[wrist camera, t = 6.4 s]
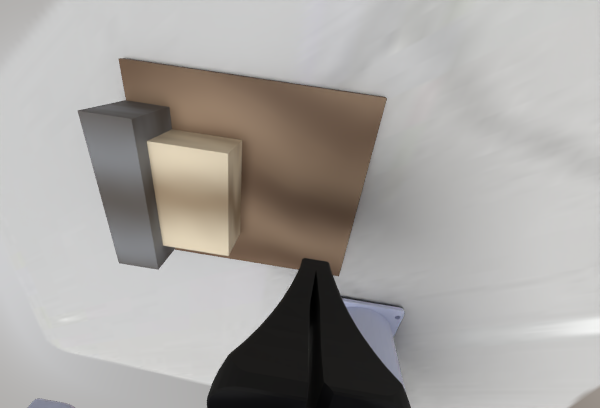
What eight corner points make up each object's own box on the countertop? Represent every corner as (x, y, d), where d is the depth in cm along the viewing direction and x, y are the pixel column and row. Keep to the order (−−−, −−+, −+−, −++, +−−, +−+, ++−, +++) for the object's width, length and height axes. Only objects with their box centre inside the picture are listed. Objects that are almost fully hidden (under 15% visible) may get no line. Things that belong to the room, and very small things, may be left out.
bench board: (338, 271, 24) (340, 313, 20) (156, 241, 25) (122, 277, 21) (385, 97, 17) (402, 109, 13) (125, 58, 17) (63, 59, 13)
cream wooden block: (240, 233, 23) (228, 256, 20) (182, 223, 23) (163, 245, 20) (242, 140, 19) (228, 153, 16) (172, 129, 19) (146, 141, 16)
